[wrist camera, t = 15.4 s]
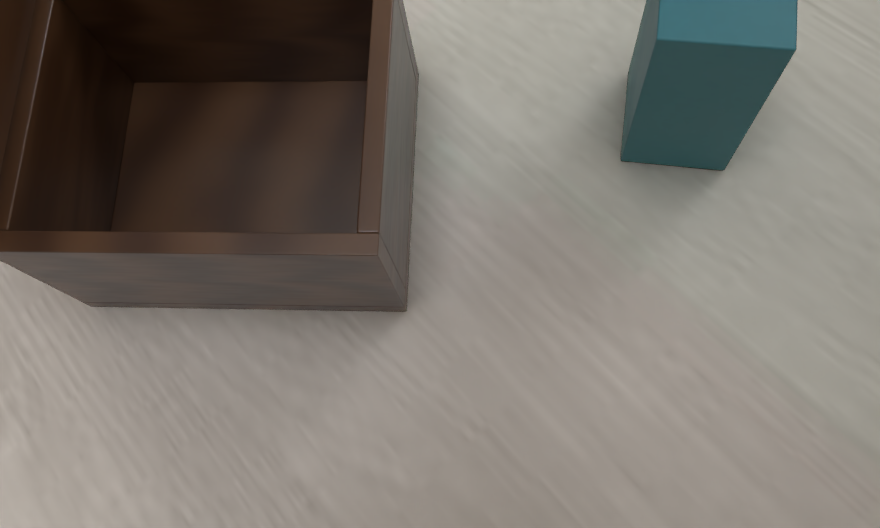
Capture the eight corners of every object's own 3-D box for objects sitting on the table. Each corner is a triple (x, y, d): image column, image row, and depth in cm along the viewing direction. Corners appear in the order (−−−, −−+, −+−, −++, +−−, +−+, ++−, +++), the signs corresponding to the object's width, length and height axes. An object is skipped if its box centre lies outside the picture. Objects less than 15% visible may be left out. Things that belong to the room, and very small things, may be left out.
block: (728, 79, 42) (799, -67, 32) (724, 171, 41) (796, 49, 30) (628, 71, 43) (665, -75, 32) (620, 161, 41) (656, 39, 31)
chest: (418, 73, 44) (395, -34, 35) (406, 311, 40) (377, 255, 32) (128, 76, 45) (39, -27, 37) (90, 306, 41) (-19, 251, 33)
